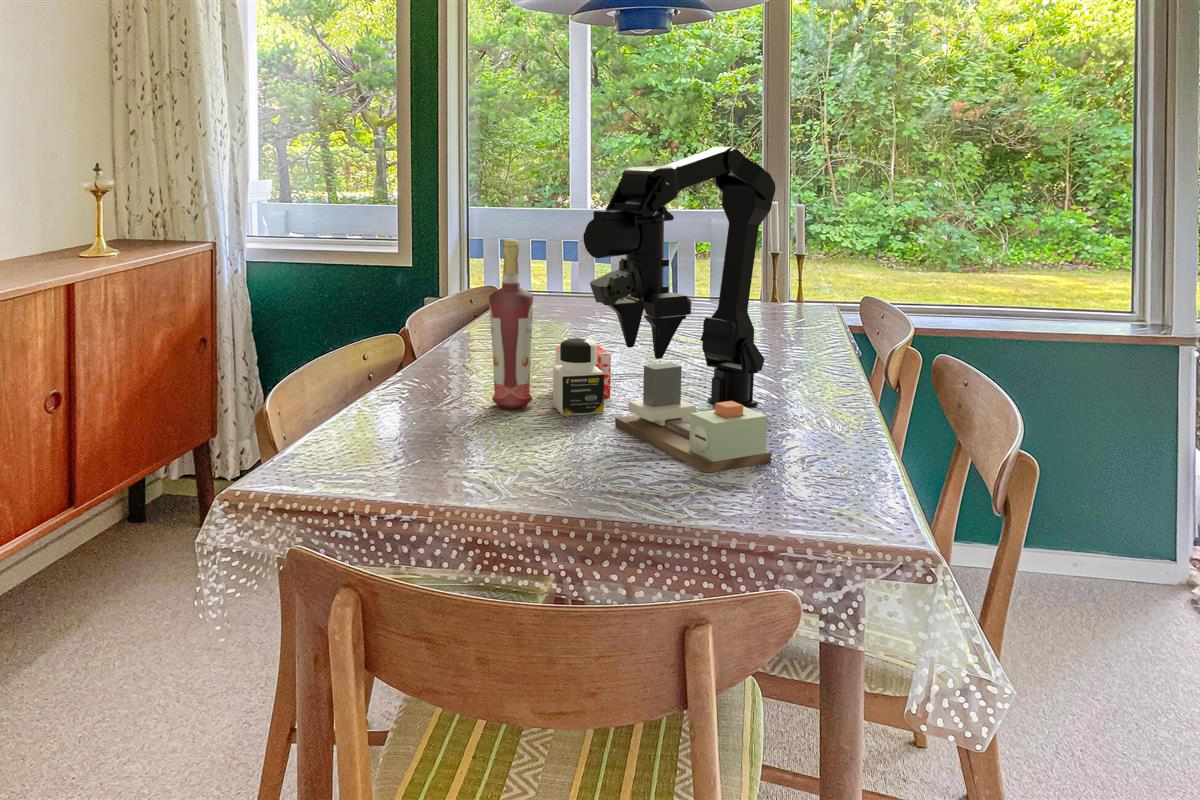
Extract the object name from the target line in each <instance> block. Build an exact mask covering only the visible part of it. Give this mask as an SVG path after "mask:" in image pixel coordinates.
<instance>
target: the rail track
mask: <svg viewBox="0 0 1200 800" xmlns="http://www.w3.org/2000/svg"><path fill="white" fill-rule="evenodd" d="M614 424H615V425H614V427H615V428H617V429H618V430H620V431H622V432H623V433H626V434H628V435H631V436H632V437H634V438H636V439H638V440H640V441H642V442H643V443H646V444H648V445H650V446H651V447H654V448H656V449H658V450H660V451H662V452H664V453H666V454H668V455H670V456H671V457H674V458H676V459H678V460H680V461H682V462H684V463H686V464H688V465H690V466H692V467H693V468H696V469H698V470H699V471H701V472H704V473H705V474H709V473H714V472H715V473H716V472H721V471H722V472H723V471H728V470H734V469H740V468H746V467H752V466H757V465H762V464H763V465H764V464H768V463H772V451H770V450H767V449H766V453H764V454H758V455H751V456H745V457H739V458H733V459H727V460H721V461H714V462H712V461H710V460H708V459H706V458H704V457H702V456H700V455H698V454H696V453H694V452H692V451H690V450H689V442H690V416H689V417H685V422H683V421H681V420H678V419H676V418H675V419H667V420H665V426H661V425H659V424H656V423H654V422H651V421H649V420H646V419H644V418H642V417H640V416H638V415H636V414H632V415H627V416H619V417H615V420H614Z"/></svg>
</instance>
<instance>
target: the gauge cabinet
mask: <svg viewBox="0 0 1200 800" xmlns="http://www.w3.org/2000/svg"><path fill="white" fill-rule="evenodd" d="M689 417H690V442H689V450H690V451H692V452H694V453H696V454H698V455H700V456H702V457H704V458H706V459H708V460H710V461H712V462H714V461H721V460H727V459H733V458H739V457H745V456H751V455H758V454H764V453H766V450H767V435H768V419H769V418H768V415H766V414H764V413H762V412H759V411H756V410H755V409H752V408H749V407H747V406H746V407H744V406H743V416H741V417H734V418H727V419H725V418H723V417H721V416H718V415H716V414H715V409H711V410H710V409H709V410H705V411H704V410H703V411H702V410H701V411H695V413H690V416H689Z"/></svg>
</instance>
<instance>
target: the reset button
mask: <svg viewBox="0 0 1200 800" xmlns="http://www.w3.org/2000/svg"><path fill="white" fill-rule="evenodd" d="M714 408H715V409H714V410H715V414H716V415H718V416H721V417H723V418H725V419H727V418H734V417H741V416H743V405H741V404H739V403H736V402H734V401H727V402H719V403H715V407H714Z"/></svg>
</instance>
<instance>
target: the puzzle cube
mask: <svg viewBox="0 0 1200 800" xmlns="http://www.w3.org/2000/svg"><path fill="white" fill-rule="evenodd" d="M611 357H612V354H611V352H609V351H607V350H606V349H604V348H603V347H601V346H599V345H598V344H597V360H596V365H595V366H596V367H597V368H598V369H600V370H601V371H602V372H603V373H604V399H605V398H611V375H612V374H611V369H612V368H611V364H612V363H611V362H612V361H611V359H612V358H611ZM555 365H561V364H560V347H559V346H557V347H555Z"/></svg>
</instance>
